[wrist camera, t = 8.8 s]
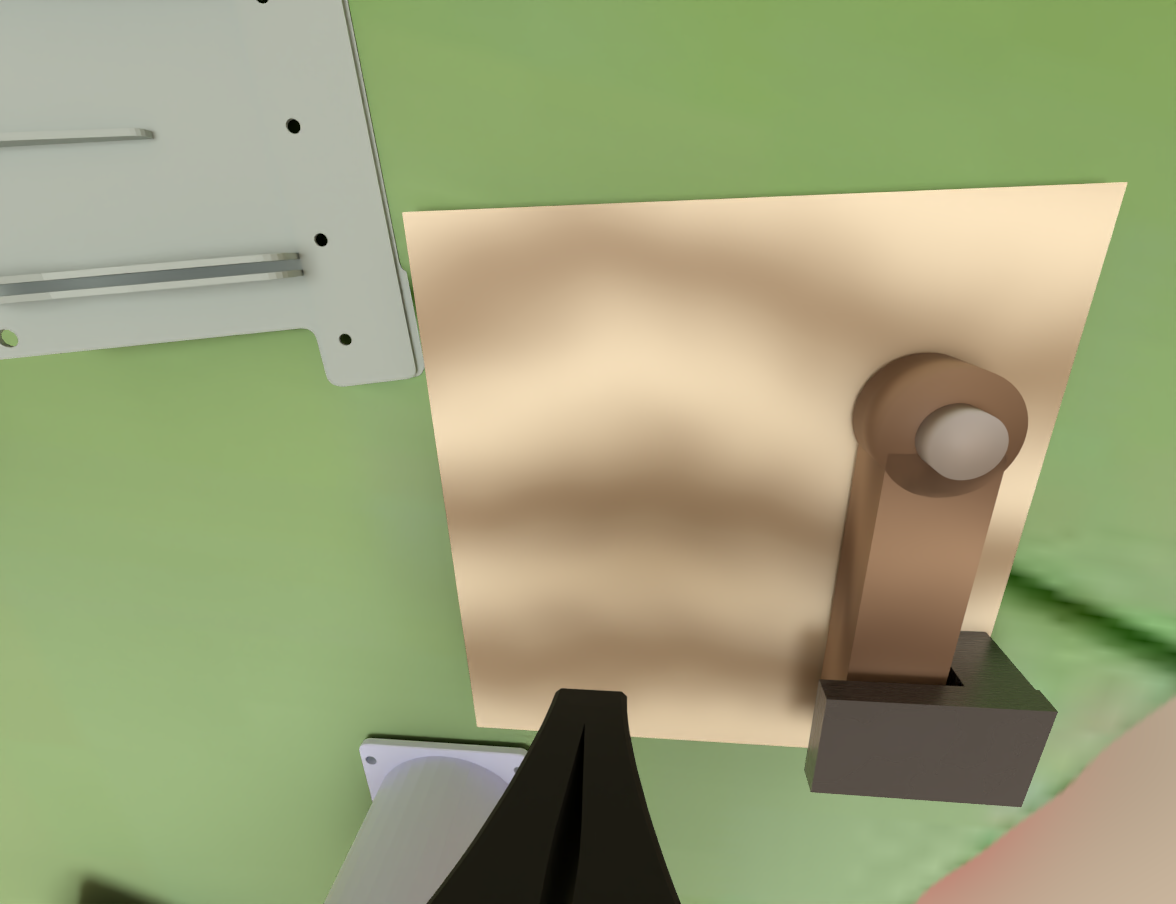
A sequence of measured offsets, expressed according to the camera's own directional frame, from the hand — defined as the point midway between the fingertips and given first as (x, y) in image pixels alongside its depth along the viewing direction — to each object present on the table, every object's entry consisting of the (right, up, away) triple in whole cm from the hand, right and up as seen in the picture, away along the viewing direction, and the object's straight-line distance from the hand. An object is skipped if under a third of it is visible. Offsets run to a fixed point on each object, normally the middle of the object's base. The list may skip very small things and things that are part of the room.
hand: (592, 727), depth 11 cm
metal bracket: (-12, +15, +6) cm, 21 cm away
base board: (+4, +3, +8) cm, 10 cm away
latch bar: (+10, +2, +7) cm, 12 cm away
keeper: (+11, -3, +9) cm, 14 cm away
